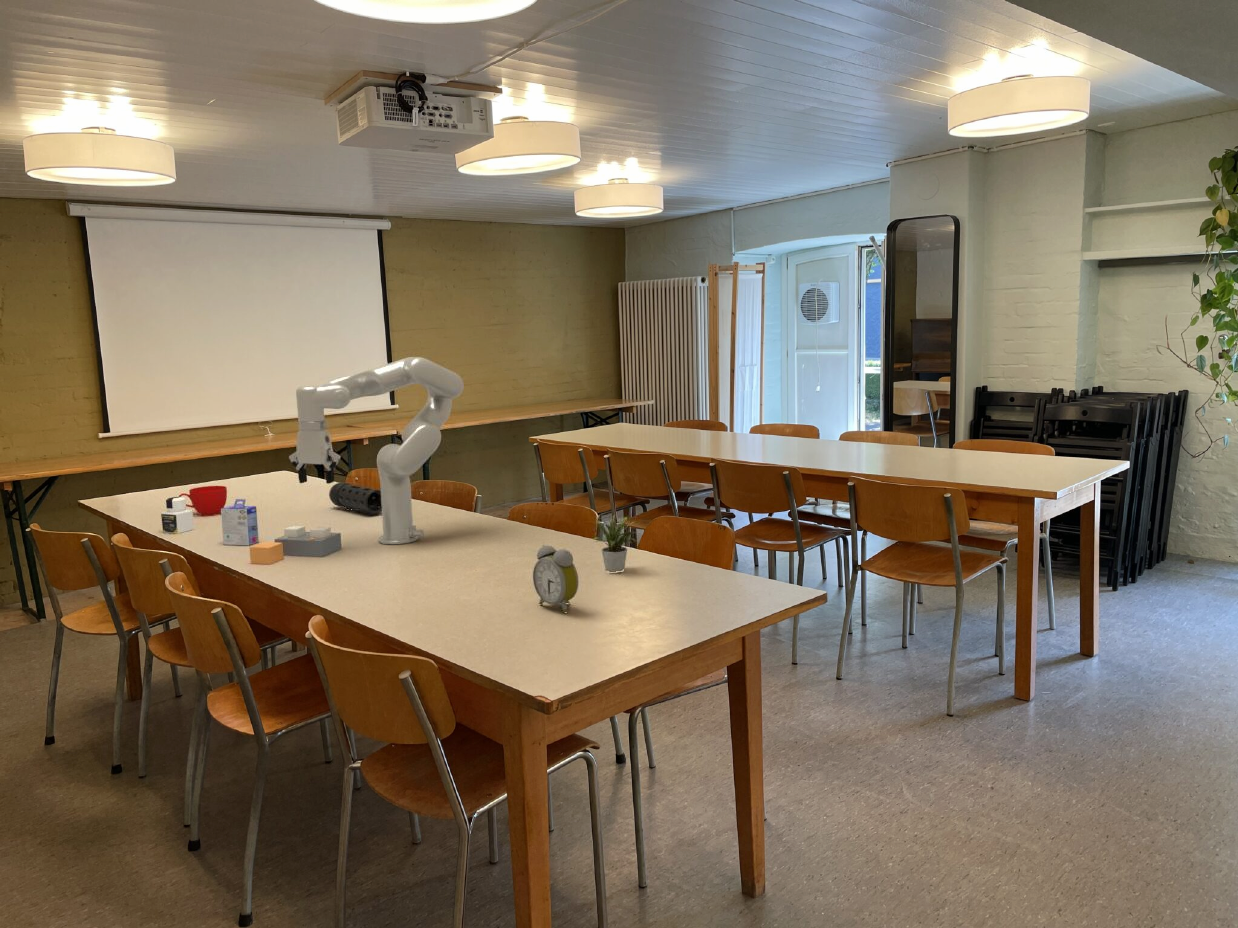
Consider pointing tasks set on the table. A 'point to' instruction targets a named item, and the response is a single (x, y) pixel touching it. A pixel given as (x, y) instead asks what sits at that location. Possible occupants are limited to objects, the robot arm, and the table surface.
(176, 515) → the medicine bottle
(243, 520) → the ink cartridge box
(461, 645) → the table surface
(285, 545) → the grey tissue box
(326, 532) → the block
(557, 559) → the alarm clock
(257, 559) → the cap
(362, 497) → the muzzle brake
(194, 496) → the ceramic cup
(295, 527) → the white cube
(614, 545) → the house plant
